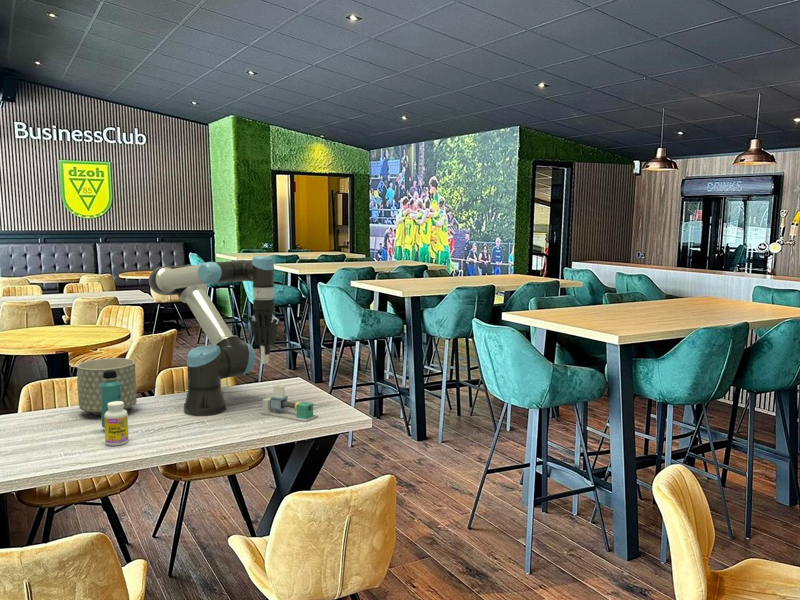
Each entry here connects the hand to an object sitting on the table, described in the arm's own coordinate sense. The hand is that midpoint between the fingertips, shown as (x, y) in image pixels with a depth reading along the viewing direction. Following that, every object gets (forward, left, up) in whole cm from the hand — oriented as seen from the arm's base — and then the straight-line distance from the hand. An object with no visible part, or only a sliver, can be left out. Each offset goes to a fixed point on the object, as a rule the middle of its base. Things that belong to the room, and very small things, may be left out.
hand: (264, 362), depth 238 cm
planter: (-48, -29, -18) cm, 59 cm away
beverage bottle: (-30, -42, -18) cm, 55 cm away
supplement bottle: (-18, -50, -18) cm, 56 cm away
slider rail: (+11, 0, -18) cm, 21 cm away
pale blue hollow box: (+6, 0, -17) cm, 18 cm away
